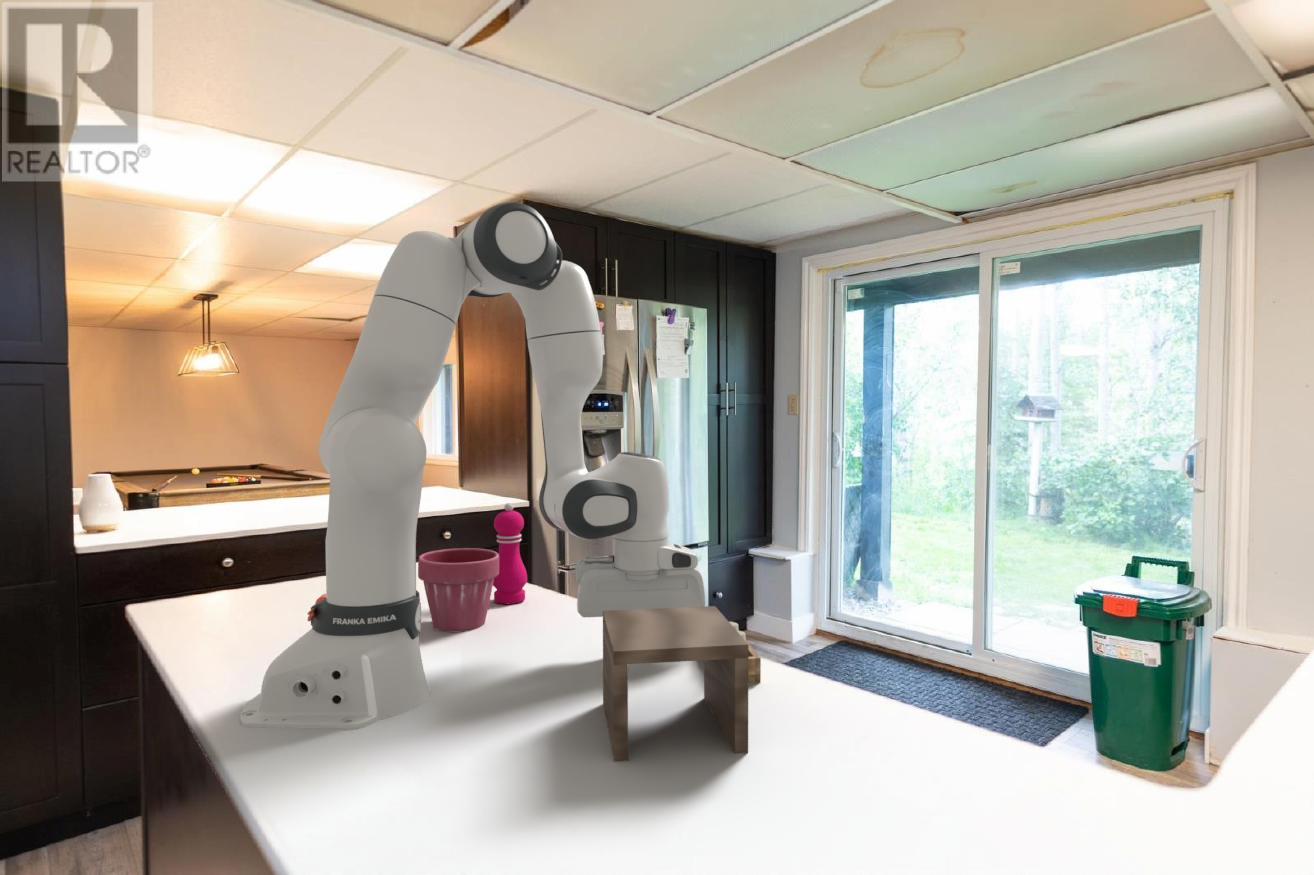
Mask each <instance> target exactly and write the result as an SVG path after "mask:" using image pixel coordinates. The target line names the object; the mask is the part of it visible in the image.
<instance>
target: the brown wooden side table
mask: <svg viewBox="0 0 1314 875" xmlns="http://www.w3.org/2000/svg"><path fill="white" fill-rule="evenodd" d="M729 622H730V621H729V620H728V619H727V618H726V617H725V616H724V614H723V613H722V612H721V611H720V610H719V609H718V607H716V606H715V605H714V606H712V605H711V606H710V605H709V606H708V605H707V606H706V605H705V607H683V608H660V609H637V610H613V611H603V617H602V701H603V702H602V704H603V710H604V715H605V721H606V727H607V730H608V731H607V732H608V738H609V741H610V747H611V752H612V758H613V762H614V763H617V762H619V763H620V762H629V729H628V728H629V709H628V708H629V699H628V698H629V696H628V695H629V690H628V689H629V686H628V685H629V681H628V678H629V676H628V675H629V673H628V671H629V670H628V667H629V665H642V664H659V663H661V664H663V663H674V662H675V663H679V662H694V661H695V662H697V661H703V699H704V700H705V702H706V704H707V706H708V708H709V710H710V712H711V714H712V715H713V717H714V719H715V721H716V722H717V724H718V726H719V728H720V729H721V731H722V732H723V735H724V737H725V738H726V741H727V742H728V744H729V745H730V747H731V749H732V751H733V752H734V754H735V755H736V754H739V755H740V754H748V753H749V683H748V643H747V642H746V641H745V640H744V639H743V638H742V636H741V635H740V634H739V633H738V632H737V631H736V630H735V628H734V627H733V626H732V625H731V624H730V623H729Z"/></svg>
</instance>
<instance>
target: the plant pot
mask: <svg viewBox="0 0 1314 875" xmlns="http://www.w3.org/2000/svg"><path fill="white" fill-rule="evenodd" d="M417 560H418V563H417V566H418V567H417V577H418V579H419V580H421V581H423V586H424V591H425V595H426V599H427V604H428V609H429V613H430V618H431V620H432V621H431V622H432V627H433V628H434V629H435V630H437V631H440V630H441V631H440V632H446V631H461V632H465V631H464V630H468V631H472V629H473V630H476V629H479V628H481V627H482V625H483V626H484V625H485V623H486V619H487V614H488V611H489V604H490V600H491V596H492V592H493V591H492V590H493V587H494V586H493V581H494V578H495V577H496V576H498V574H499V552H496V551H494V550H491V549H487V548H486V549H485V548H478V547H477V548H474V547H473V548H470V547H469V548H468V547H466V548H465V547H464V548H463V547H462V548H460V547H459V548H447V549H439V550H431V551H428V552H425V553H423V554H421V555H419V557H418V559H417ZM480 626H481V627H480ZM478 627H479V628H478Z"/></svg>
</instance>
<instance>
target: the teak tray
mask: <svg viewBox="0 0 1314 875" xmlns="http://www.w3.org/2000/svg"><path fill="white" fill-rule="evenodd" d="M729 623H730V624H731V625H732V626H733V627H734V628H735V630H736V631H737V632H738V633H739V634H740V635H741V636H742V638H743V639H744V640H745V641H746V642H747V643H748V684H758V683H762V682H761V680H762V678H761V670H762V669H761V667H762V666H761V663H762V662H761V661H762V660H761V657H760V655H759V654H758V653H757V652H756V650H755V649H754V647H753V646H752V645H751V644H750V643H749V640H747V638H746V637H747V636H746V633H745V632H744V631H741V630H740V629H739V624H738V622H734V621H729Z"/></svg>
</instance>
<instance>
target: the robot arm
mask: <svg viewBox="0 0 1314 875" xmlns="http://www.w3.org/2000/svg"><path fill="white" fill-rule="evenodd" d="M558 255H559V258H558ZM589 280H590V279H589V277H588V275H587V273H586V271H585V270H584V269H583V268H582V267H581V266H580V265H578V264H576V263H574V262H572V261H568V260H564V259H563V252H562V250H561V248H560V246H559V245H558V243H557V242H556V241H555V238H554V235H553V233H552V230H551V228H550V226H549V224H548V223H547V221H546V219H545V218H544V217H543V215H542V214H540V213H539V211H537V210H536V209H535V208H533V207H531V206H530V205H528V204H524V203H521V202H515V201H514V202H512V201H511V202H504V203H499V204H496V205H493V206H491V207H489V208H488V209H486V210H485V211H484V212H483V213H481V214H480V215H479V216H477V217H476V218H474V219H472V221H470V222H469V224H467V226H465V228H464V229H462V231H460V233H458V235H457V236H456V237H450V236H449V237H447V236H445V235H442V234H440V233H438V232H435V231H427V230H417V231H412V232H409V233H408V234H406V235H405V236H403V237H402V238H401V239H400V240H399V242H398V244H397V246H395V249H394V250H393V252H392V254H391V256H390V257H389V259H388V262H386V266H385V267H384V269H383V272H382V273H381V277H380V279H379V281H378V283H377V285H376V289H375V291H374V294H373V297H372V300H371V302H370V306H369V308H368V312H367V315H366V318H365V321H364V324H363V325H362V326H363V327H362V329H361V333H360V336H359V339H358V342H357V344H356V347H355V350H354V354H353V356H352V358H351V360H350V363H349V365H348V367H347V370H346V373H345V375H344V377H343V379H342V382H341V384H340V387H339V388H338V391H337V394H336V396H335V399H334V401H333V403H332V406H331V408H330V411H329V414H328V417H327V418H326V422H325V423H324V424H325V425H324V427H323V430H322V432H321V435H320V439H319V443H318V454H319V459H320V461H321V464H322V466H323V468H324V470H325V471H326V472H327V474H329V493H328V494H329V498H328V514H327V515H328V516H327V527H326V535H325V586H326V588H325V593H323V594H321V595H320V597H318V598H317V599H316V600H315V602H314V604H313V605H312V606H311V607H310V610H309V611H308V612H307V615H308V617H307V621H308V622H310V626H311V629H309V630H307V632H306V633H304V634H303V635H302V636H300V637H299V638H297V640H295V641H294V642H293V643H291V645H289V646H288V647H287V648H286V649H285V650H283V651H282V652H281V653H280V654H279V655H277V656H276V657H275V659H273V660H272V661H271V663H270V664H269V666H268V667H267V669H266V671H265V674H264V675H263V676H264V677H263V680H262V684H261V687H260V688H261V689H260V693H259V694H257V695H255V696H254V697H253V698H252V699H251V700H249V702H247V704H245V706H244V708H242V710H241V713H240V715H239V723H240V725H241V726H242V727H244V728H245V727H247V728H248V727H249V728H278V729H279V728H281V729H282V728H283V729H284V728H285V729H287V728H289V729H290V728H291V729H325V730H326V729H330V730H333V729H334V730H359V729H363V728H366V727H369V726H370V725H373V724H375V723H377V722H379V721H381V720H384V719H388V718H392V717H395V716H398V715H401V714H405V713H407V712H409V711H412V710H413V709H417V708H418V707H419V706H422V705H423V704H424V703H425V702H427V701H428V699H429V698H430V696H431V690H430V686H429V684H428V681H427V677H426V674H425V669H424V664H423V660H422V653H421V646H420V645H421V644H420V636H419V635H420V633H421V629H422V603H421V599H420V592H419V591H418V590H417V550H416V548H417V546H416V545H417V544H416V543H417V528H418V526H417V525H418V519H419V512H420V504H421V497H422V491H423V490H422V489H423V488H422V487H423V478H424V477H423V476H424V468H425V465H426V461H427V452H428V451H427V446H426V442H425V439H424V436H423V434H422V432H421V430H420V429H419V427H418V426H417V422H418V420H419V418H420V416H421V413H422V411H423V410H424V407H425V405H426V403H427V401H428V399H429V397H430V395H431V393H432V391H433V389H434V388H435V386H436V385H437V384H438V382H439V379H440V377H441V373H442V371H443V367H444V363H445V361H446V358H447V354H448V352H449V349H450V345H451V342H452V339H453V336H454V332H455V329H456V326H457V323H458V319H459V315H460V312H461V308H462V305H463V304H464V302H465V300H466V298H467V297H468V296H470V297H479V298H496V297H500V296H502V295H504V294H506V293H507V294H511V295H510V296H511V297H512V298H514V299H515V301H516V302H517V304H518V306H519V307H520V309H521V312H522V314H523V318H524V320H525V321H524V322H525V332H526V333H525V334H526V340H527V348H528V353H529V354H528V355H529V358H530V359H529V360H530V364H531V368H532V374H533V378H534V383H535V386H536V391H537V396H538V403H539V407H540V415H541V416H540V418H541V428H542V437H543V438H542V440H543V448H544V449H543V450H544V451H543V452H544V460H545V471H544V476H543V481H542V485H541V488H540V491H539V497H538V499H539V500H538V504H539V510H540V513H541V516H542V517H543V519H544V520H545V522H546V523H547V524H548V525H549V526H550V527H552V528H553V529H555V530H558V531H561V532H566V533H568V534H570V535H572V536H575V537H577V538H579V539H582V540H588V541H591V540H598V539H603V538H607V537H610V536H612V546H613V549H612V552H613V553H612V555H603V556H602V555H601V556H585V557H584V558H583V559H581V560H579V561H577V563H576V564H575V567H574V579H575V582H576V584H577V585H578V587H577V588H578V589H577V599H576V600H577V601H576V610H577V613H578V614H579V615H580V616H581V617H582V618H601V617H602V618H603V611H613V610H637V609H660V608H683V607H706V593H705V584H704V578H703V575H702V574H701V572H700V571H699V570H698V568H697V567H698V565H699V558H698V555H697V553H696V552H694V551H693V550H692V549H691V548H689V547H686V546H683V545H679V544H676V543H672V542H670V533H669V529H668V525H667V524H668V523H667V519H668V515H669V510H670V494H669V492H670V491H669V490H670V489H669V480H668V472H667V468H666V465H665V463H664V462H663V461H662V460H661V458H659V457H657V456H654V455H650V454H643V453H637V452H632V451H631V452H630V451H622V452H619V453H618V454H616V456H615V457H614V458H613V459H611V460H610V461H608V462H607V463H606V464H604V465H602V466H600V467H598V468H595V470H592V471H588V468H587V467H586V463H585V454H584V452H585V451H584V443H583V442H584V440H583V430H582V413H583V408H584V405H585V403H586V401H587V399H588V397H589V396H590V393H591V392H592V391H593V389H595V387H597V384H598V383H599V381H600V380H601V378H602V374H603V364H604V349H603V345H604V344H603V338H602V332H601V325H600V317H599V313H598V309H597V305H596V299H595V297H594V293H593V289H592V286H591V284H590V281H589Z"/></svg>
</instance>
